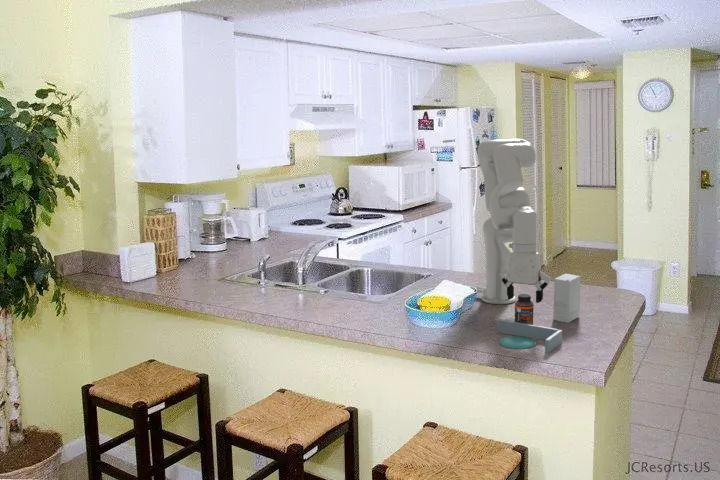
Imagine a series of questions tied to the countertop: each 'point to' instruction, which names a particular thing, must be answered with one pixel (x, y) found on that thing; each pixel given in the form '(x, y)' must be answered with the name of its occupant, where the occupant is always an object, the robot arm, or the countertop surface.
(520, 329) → the divider wall
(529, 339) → the pad
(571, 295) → the skincare box
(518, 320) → the supplement bottle
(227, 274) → the countertop surface
